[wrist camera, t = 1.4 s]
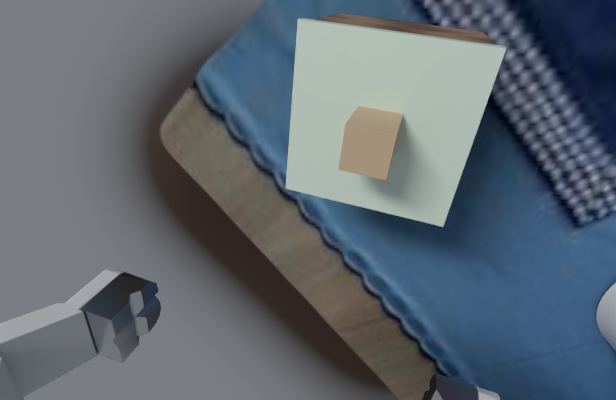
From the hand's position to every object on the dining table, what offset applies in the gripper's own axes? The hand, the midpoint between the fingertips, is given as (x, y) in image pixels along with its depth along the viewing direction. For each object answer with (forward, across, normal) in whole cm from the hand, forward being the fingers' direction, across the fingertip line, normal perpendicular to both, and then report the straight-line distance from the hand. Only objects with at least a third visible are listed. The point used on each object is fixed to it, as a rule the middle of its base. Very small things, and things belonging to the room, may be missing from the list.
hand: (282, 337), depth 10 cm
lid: (+19, 0, 0) cm, 19 cm away
